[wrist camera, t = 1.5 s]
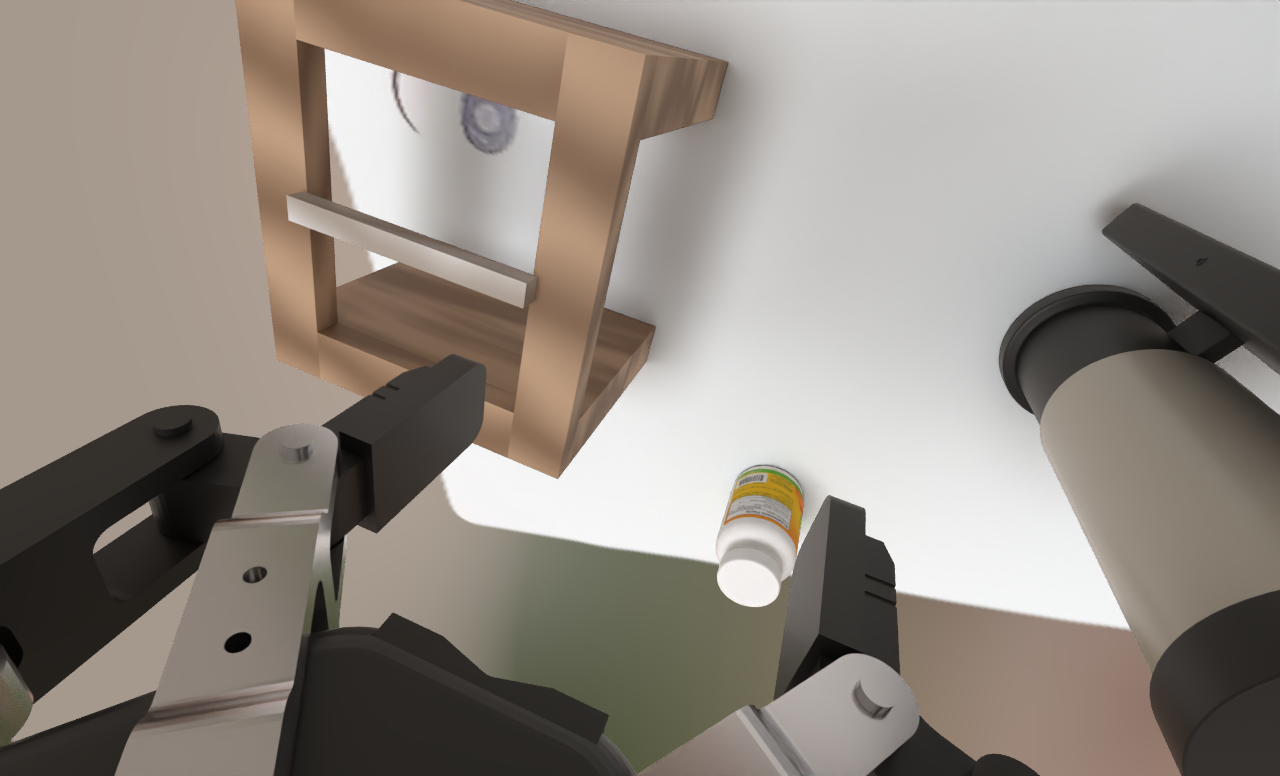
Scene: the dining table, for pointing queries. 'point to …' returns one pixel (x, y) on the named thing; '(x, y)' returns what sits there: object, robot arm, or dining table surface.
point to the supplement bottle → (759, 535)
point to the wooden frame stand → (441, 273)
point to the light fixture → (1173, 477)
